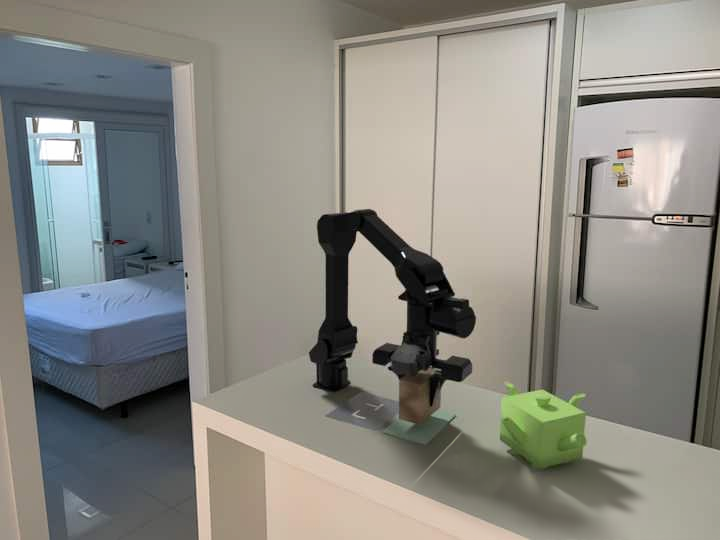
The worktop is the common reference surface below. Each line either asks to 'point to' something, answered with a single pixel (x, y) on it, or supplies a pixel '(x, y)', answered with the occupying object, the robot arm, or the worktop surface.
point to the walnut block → (416, 397)
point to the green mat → (420, 427)
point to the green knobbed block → (542, 427)
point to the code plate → (366, 411)
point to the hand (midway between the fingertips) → (420, 403)
